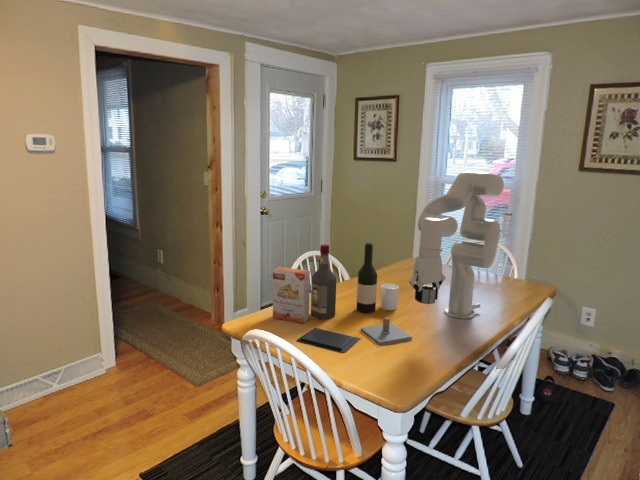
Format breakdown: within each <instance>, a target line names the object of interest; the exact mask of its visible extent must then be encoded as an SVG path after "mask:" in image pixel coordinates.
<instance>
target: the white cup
mask: <svg viewBox="0 0 640 480" xmlns="http://www.w3.org/2000/svg"><path fill="white" fill-rule="evenodd" d="M399 292H400V286H399V285H398V284H395V283H383V284H381V285H380V308H381V309H382V310H385V311H395V310H397V307H398V306H397V304H398V301H399V294H400V293H399Z"/></svg>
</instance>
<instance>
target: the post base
mask: <svg viewBox="0 0 640 480" xmlns="http://www.w3.org/2000/svg"><path fill="white" fill-rule="evenodd" d="M390 320H391V318H389V317H387V316H386V317H383V319H382V321H383V322H382V324H378V325H377V324H376V325H371V326H365V327H364V326H363V327H360V332H361V333H363V334H364V335H365V336H367V337H368V338H369V339H371V340H372V341H373V342H374V343H376V344H377V345H378V346H383V345H389V344H393V343H394V344H396V343H400V342H405V341H407V342H408V341H412V340H413V339H412V338H413V336H412V335H410V334H409V333H407V332H406V331H404V330H402V329H401V328H400V327H398V326H397V325H395V324H394V323H392V322H390Z"/></svg>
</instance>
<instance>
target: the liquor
mask: <svg viewBox="0 0 640 480" xmlns="http://www.w3.org/2000/svg"><path fill="white" fill-rule="evenodd" d="M319 252H320V253H319V254H320V257H319V258H320V261H319V263H320V264H319V267H318V269H317V270H316V271H315V272H314V273H313V274H312V275H311V279H310V280H311V281H310V282H311V283H310V284H311V285H310V291H311V292H310V315H311V317H313V318H315V319H318V320H322V321H323V320H325V321H326V320H328V319H332V318H334V317H335V316H336V302H337V277H336V274H334V272H333V271H332V270H331V269H330V266H329V265H330V264H329V258H330V257H329V255H330V245H329V244H321V245H320V251H319Z"/></svg>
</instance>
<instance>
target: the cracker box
mask: <svg viewBox="0 0 640 480" xmlns="http://www.w3.org/2000/svg"><path fill="white" fill-rule="evenodd" d="M310 277H311V271H310V270H306V269H298V268H293V267H286V266H285V267H284V266H277V267H276V268H274V269H273V270H272V318H273V319H278V320H282V321H288V322H294V323H299V324H305V323H306V322H307V321H308V320H309V318H310V291H311V285H310V284H311V283H310V282H311V281H310V280H311V278H310Z"/></svg>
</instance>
